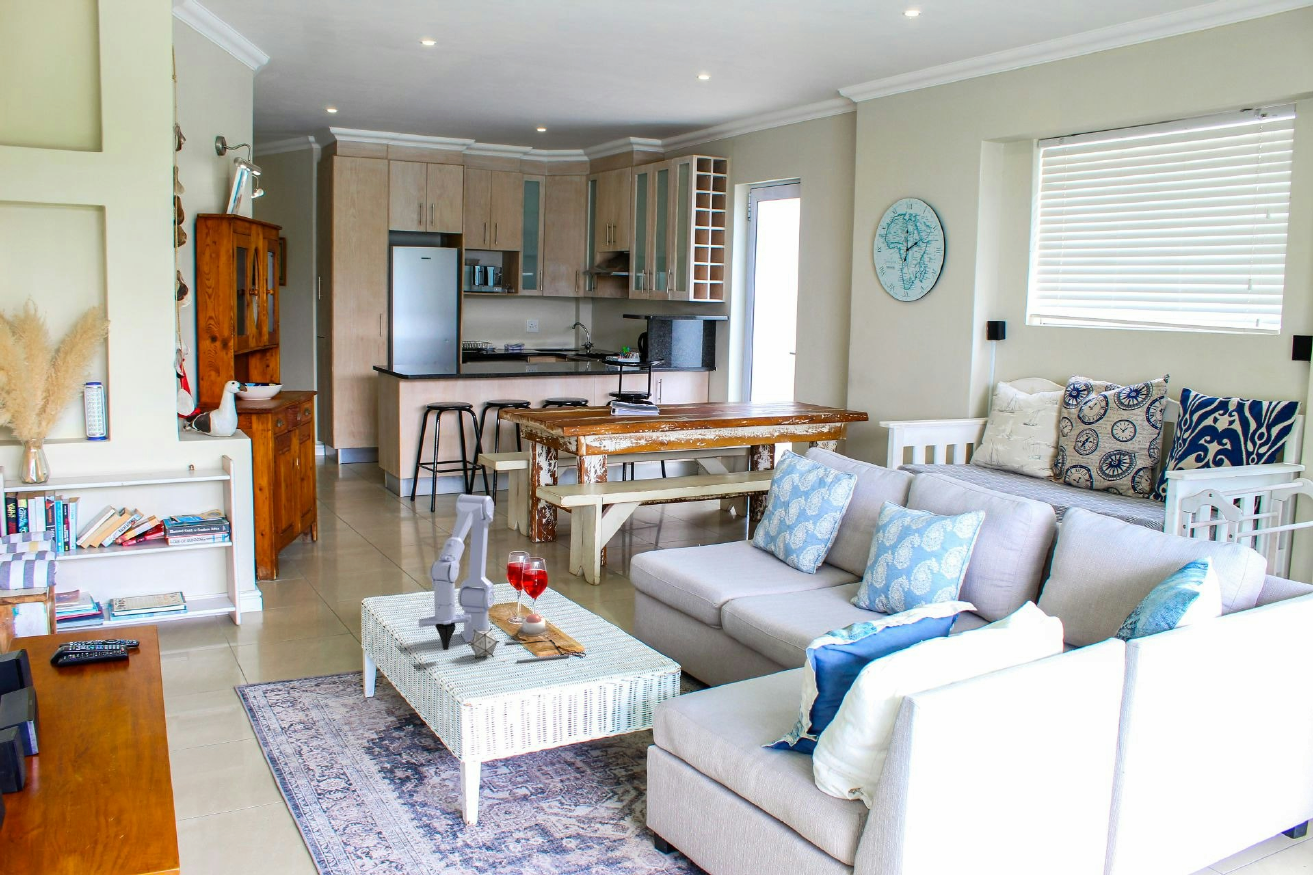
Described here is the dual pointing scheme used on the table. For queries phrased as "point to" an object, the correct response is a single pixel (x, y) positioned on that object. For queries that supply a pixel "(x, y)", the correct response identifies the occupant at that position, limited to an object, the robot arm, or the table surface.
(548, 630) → the dome base
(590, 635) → the table surface
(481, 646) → the game die
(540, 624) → the dome
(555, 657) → the frame
